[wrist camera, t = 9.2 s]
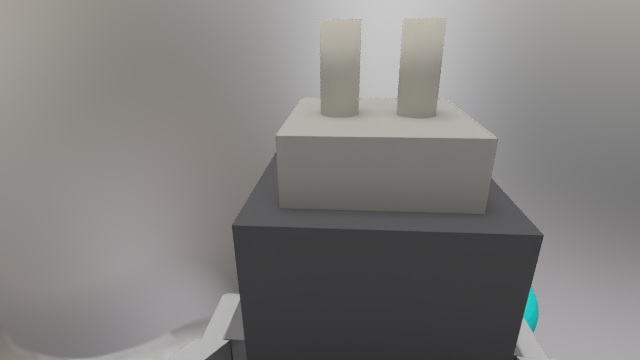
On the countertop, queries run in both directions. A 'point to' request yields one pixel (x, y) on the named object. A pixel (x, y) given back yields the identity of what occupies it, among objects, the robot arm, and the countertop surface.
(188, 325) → the countertop surface
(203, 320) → the countertop surface
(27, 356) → the countertop surface
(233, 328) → the robot arm
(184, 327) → the countertop surface
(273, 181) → the plug
